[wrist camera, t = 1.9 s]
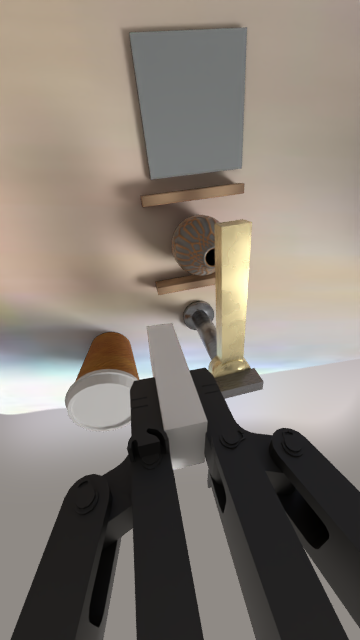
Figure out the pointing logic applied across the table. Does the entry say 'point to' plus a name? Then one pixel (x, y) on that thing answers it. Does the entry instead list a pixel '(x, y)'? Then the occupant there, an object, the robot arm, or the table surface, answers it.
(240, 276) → the latch
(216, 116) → the mat
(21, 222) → the table surface
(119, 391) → the disposable coffee cup
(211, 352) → the post
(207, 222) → the vase
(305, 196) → the table surface
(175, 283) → the cradle
